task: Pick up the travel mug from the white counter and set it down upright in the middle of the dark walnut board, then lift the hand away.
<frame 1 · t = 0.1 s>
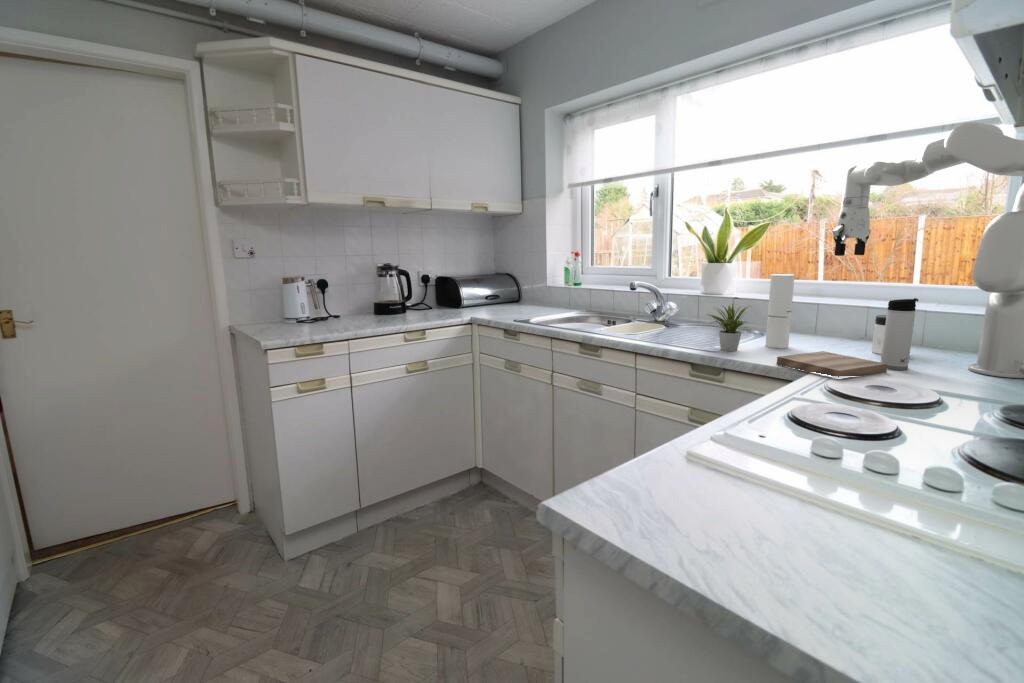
hand: (849, 255, 171), 31 cm above the countertop, fingers open, 9 cm apart
travel mug: (894, 368, 143), on the countertop
house plant: (730, 349, 172), on the countertop
jar: (887, 353, 162), on the countertop
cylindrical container: (776, 346, 176), on the countertop
walnut board: (829, 368, 143), on the countertop
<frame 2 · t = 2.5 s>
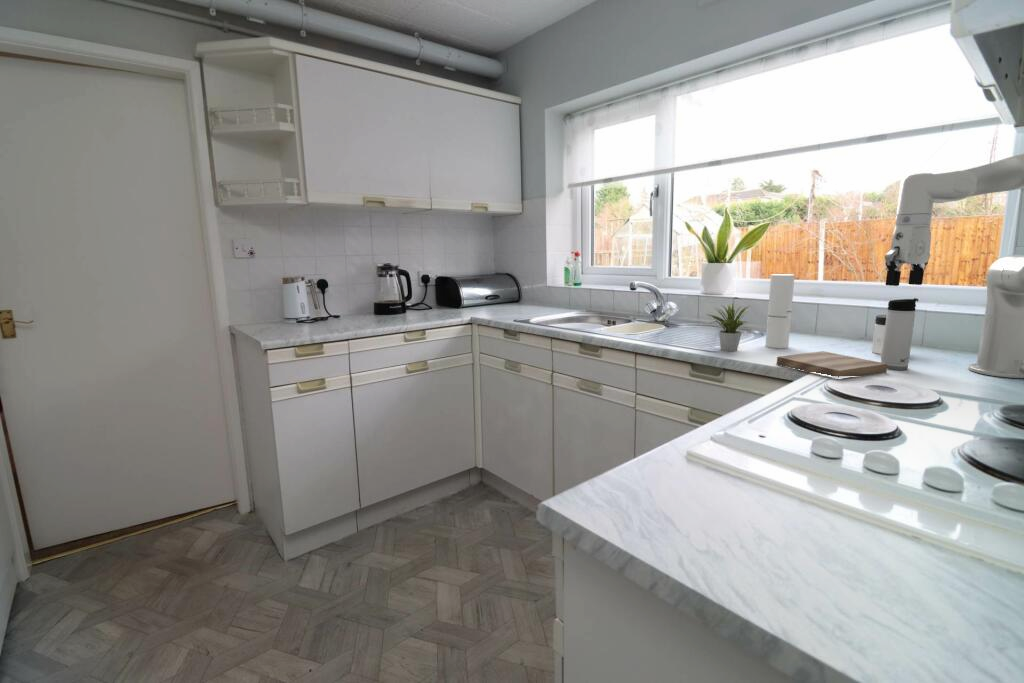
hand: (903, 285, 139), 24 cm above the countertop, fingers open, 9 cm apart
nothing on the countertop moved.
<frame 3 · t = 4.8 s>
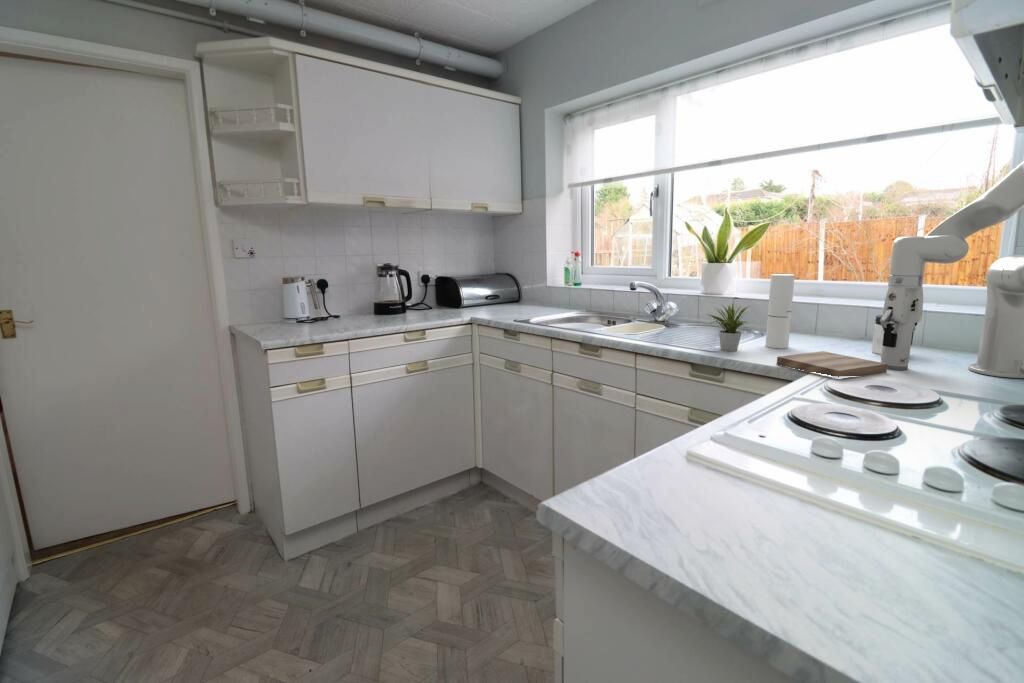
hand: (897, 345, 142), 7 cm above the countertop, fingers closed on travel mug, 6 cm apart
travel mug: (894, 368, 143), on the countertop, touching gripper
everything else where it was.
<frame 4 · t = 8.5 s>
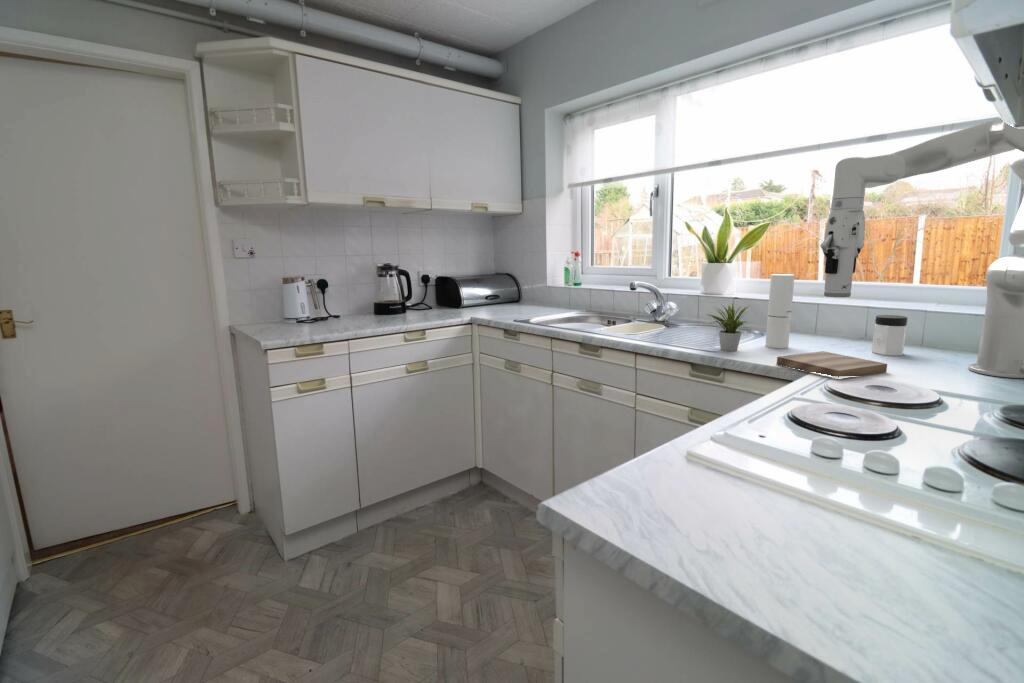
hand: (839, 272, 138), 27 cm above the countertop, fingers closed on travel mug, 6 cm apart
travel mug: (837, 297, 139), point 20 cm above the countertop, touching gripper
everything else where it was.
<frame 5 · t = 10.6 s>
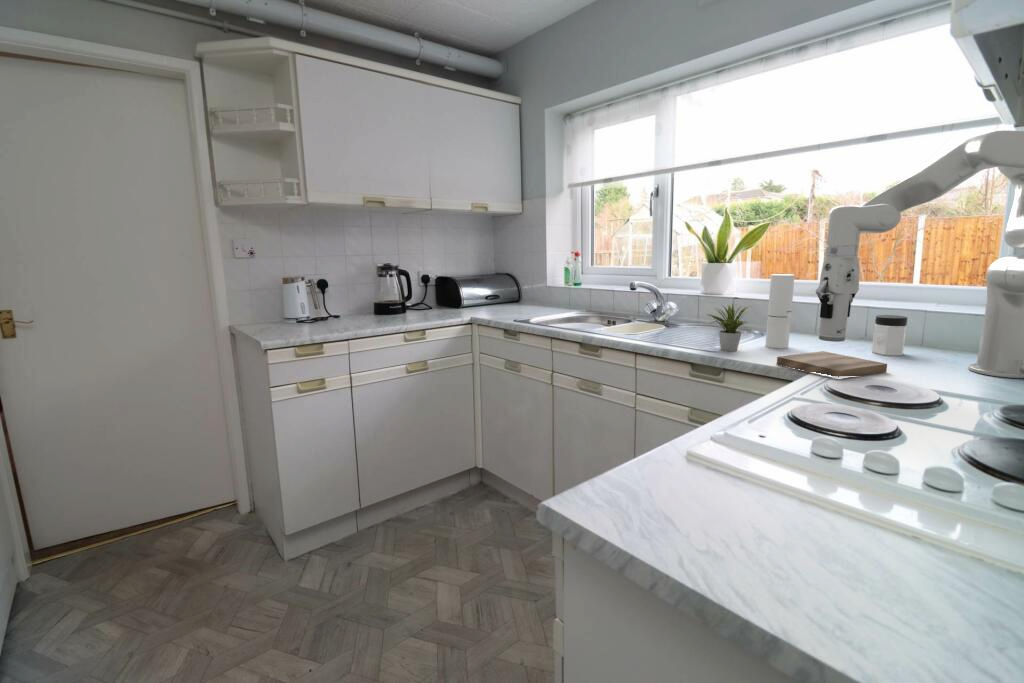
hand: (834, 316, 140), 15 cm above the countertop, fingers closed on travel mug, 6 cm apart
travel mug: (832, 340, 142), point 8 cm above the countertop, touching gripper
everything else where it was.
when the fingers open (10 cm above the countertop, at t = 12.5 s): travel mug drops 1 cm, resting on walnut board.
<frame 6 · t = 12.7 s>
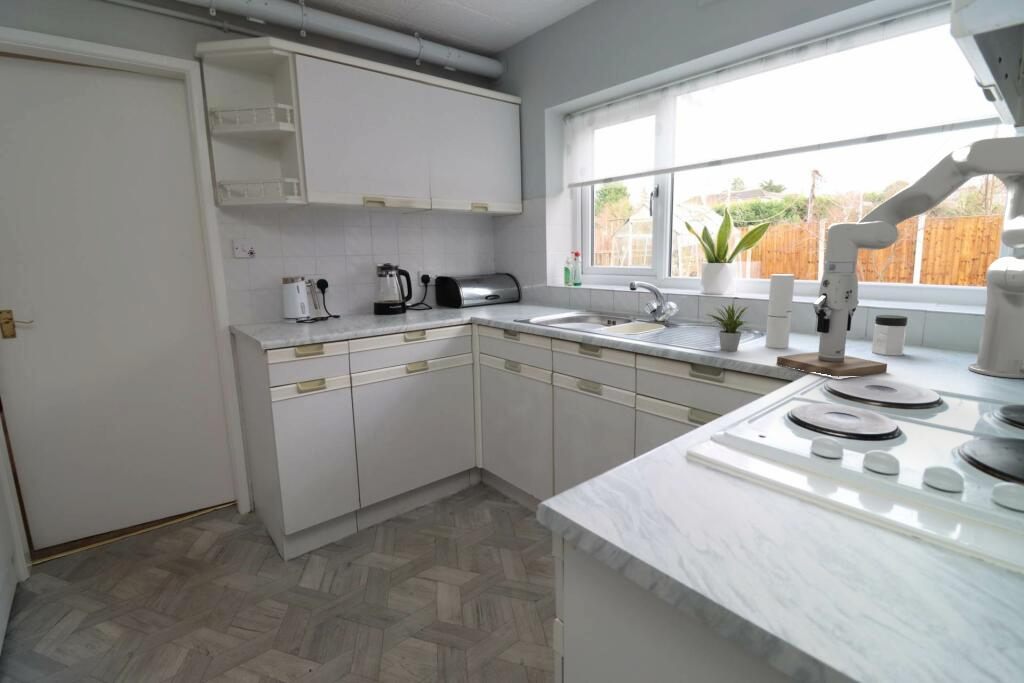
hand: (833, 331, 141), 11 cm above the countertop, fingers open, 8 cm apart
travel mug: (831, 360, 143), point 2 cm above the countertop, touching walnut board
everything else where it was.
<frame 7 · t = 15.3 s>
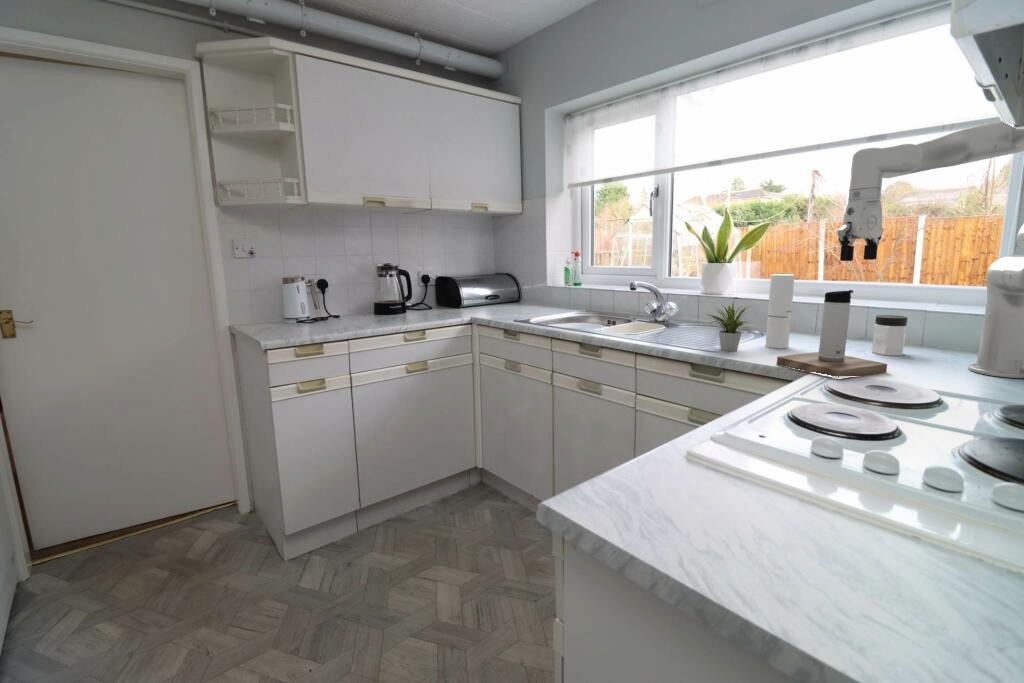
hand: (858, 260, 139), 31 cm above the countertop, fingers open, 9 cm apart
nothing on the countertop moved.
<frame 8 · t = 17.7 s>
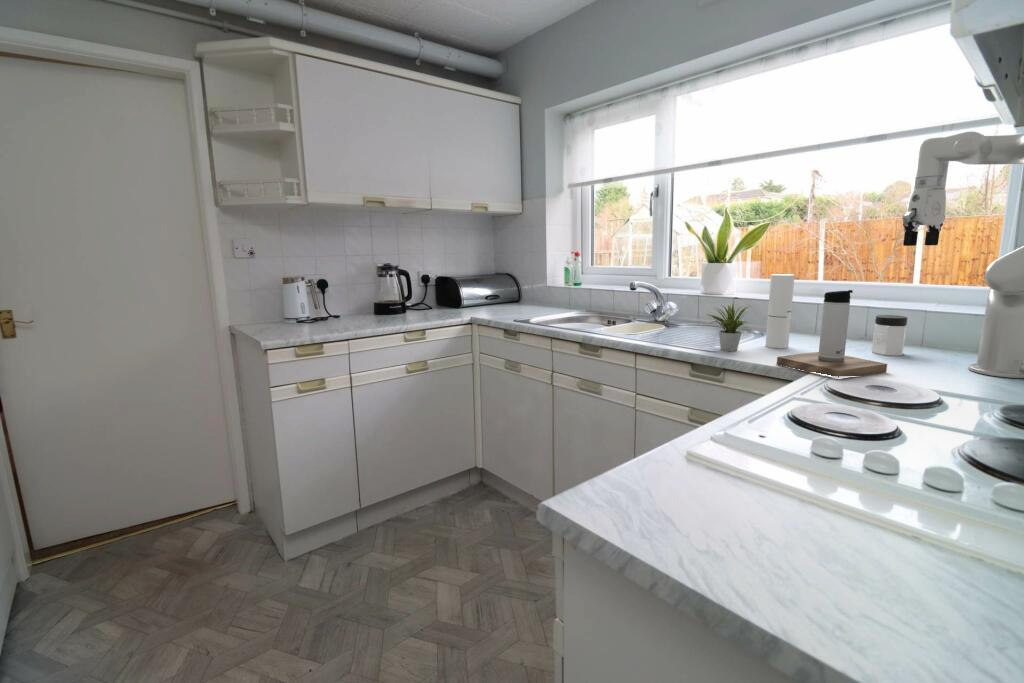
hand: (920, 245, 146), 34 cm above the countertop, fingers open, 9 cm apart
nothing on the countertop moved.
at the end: travel mug inside the target area on the walnut board (0.3 cm from its centre), point 2.3 cm above the walnut board's base; travel mug tilted 0°; the gripper is holding nothing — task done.
